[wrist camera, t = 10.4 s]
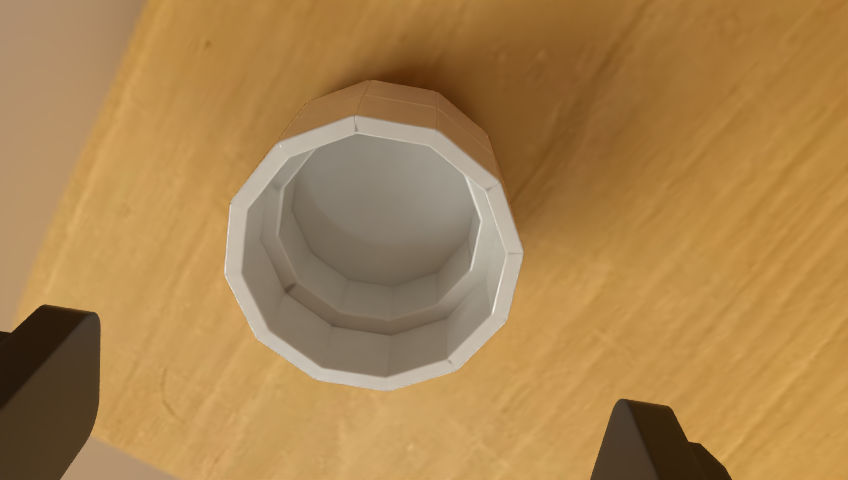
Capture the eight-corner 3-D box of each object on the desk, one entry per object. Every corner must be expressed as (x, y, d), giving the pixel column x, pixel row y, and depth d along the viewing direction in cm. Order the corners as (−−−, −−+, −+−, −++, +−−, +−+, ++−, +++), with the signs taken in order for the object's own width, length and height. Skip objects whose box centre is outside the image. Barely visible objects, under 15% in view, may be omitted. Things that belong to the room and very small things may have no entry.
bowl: (257, 281, 22) (215, 365, 17) (280, 58, 19) (238, 93, 15) (476, 317, 22) (486, 407, 18) (525, 103, 20) (551, 149, 15)
